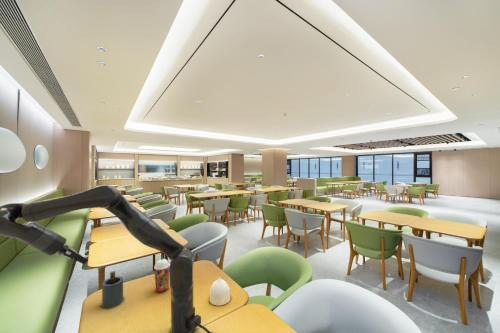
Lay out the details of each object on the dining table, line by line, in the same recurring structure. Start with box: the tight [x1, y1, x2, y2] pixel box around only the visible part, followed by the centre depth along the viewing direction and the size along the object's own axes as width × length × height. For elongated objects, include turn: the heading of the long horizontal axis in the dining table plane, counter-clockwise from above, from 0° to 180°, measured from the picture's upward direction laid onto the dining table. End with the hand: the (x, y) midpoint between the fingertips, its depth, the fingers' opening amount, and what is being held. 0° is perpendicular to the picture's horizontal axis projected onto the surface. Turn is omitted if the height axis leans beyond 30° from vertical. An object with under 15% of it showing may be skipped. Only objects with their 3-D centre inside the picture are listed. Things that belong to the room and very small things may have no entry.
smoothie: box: [153, 253, 171, 293], centre depth 121 cm, size 8×8×20 cm
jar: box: [101, 276, 124, 309], centre depth 110 cm, size 9×9×11 cm
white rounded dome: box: [209, 276, 231, 306], centre depth 113 cm, size 11×11×12 cm
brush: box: [109, 270, 116, 284], centre depth 110 cm, size 5×5×15 cm
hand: (82, 259), depth 95 cm, fingers open, 8 cm apart
